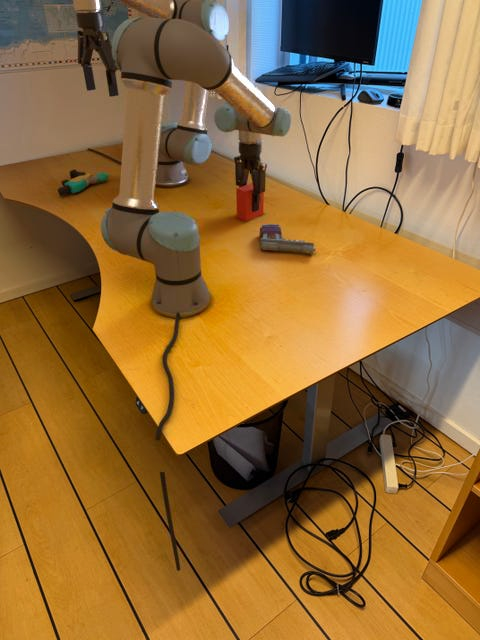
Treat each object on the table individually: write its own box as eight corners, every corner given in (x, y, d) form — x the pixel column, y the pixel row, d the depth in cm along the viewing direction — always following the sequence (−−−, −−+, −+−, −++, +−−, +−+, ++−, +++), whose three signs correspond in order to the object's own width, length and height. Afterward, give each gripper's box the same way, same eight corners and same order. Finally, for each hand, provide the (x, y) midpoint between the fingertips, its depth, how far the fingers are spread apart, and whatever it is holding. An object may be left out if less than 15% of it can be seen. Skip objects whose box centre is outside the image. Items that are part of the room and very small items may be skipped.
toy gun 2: (318, 236, 156) (314, 258, 144) (261, 232, 159) (253, 253, 147) (319, 225, 153) (315, 247, 141) (262, 221, 156) (253, 242, 145)
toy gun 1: (36, 183, 186) (64, 189, 180) (82, 165, 204) (109, 170, 199) (38, 194, 188) (67, 201, 183) (84, 175, 207) (111, 180, 201)
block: (263, 214, 171) (263, 185, 165) (246, 221, 166) (245, 192, 160) (254, 210, 174) (254, 182, 168) (236, 217, 169) (236, 188, 163)
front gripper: (278, 143, 152) (275, 212, 165) (239, 133, 162) (240, 198, 176) (261, 149, 147) (260, 219, 161) (223, 137, 158) (225, 204, 172)
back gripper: (124, 12, 130) (135, 96, 142) (79, 9, 145) (92, 86, 157) (99, 14, 126) (113, 100, 138) (56, 10, 141) (72, 89, 153)
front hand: (250, 208), depth 168 cm, fingers closed on block, 5 cm apart
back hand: (102, 93), depth 148 cm, fingers open, 13 cm apart
